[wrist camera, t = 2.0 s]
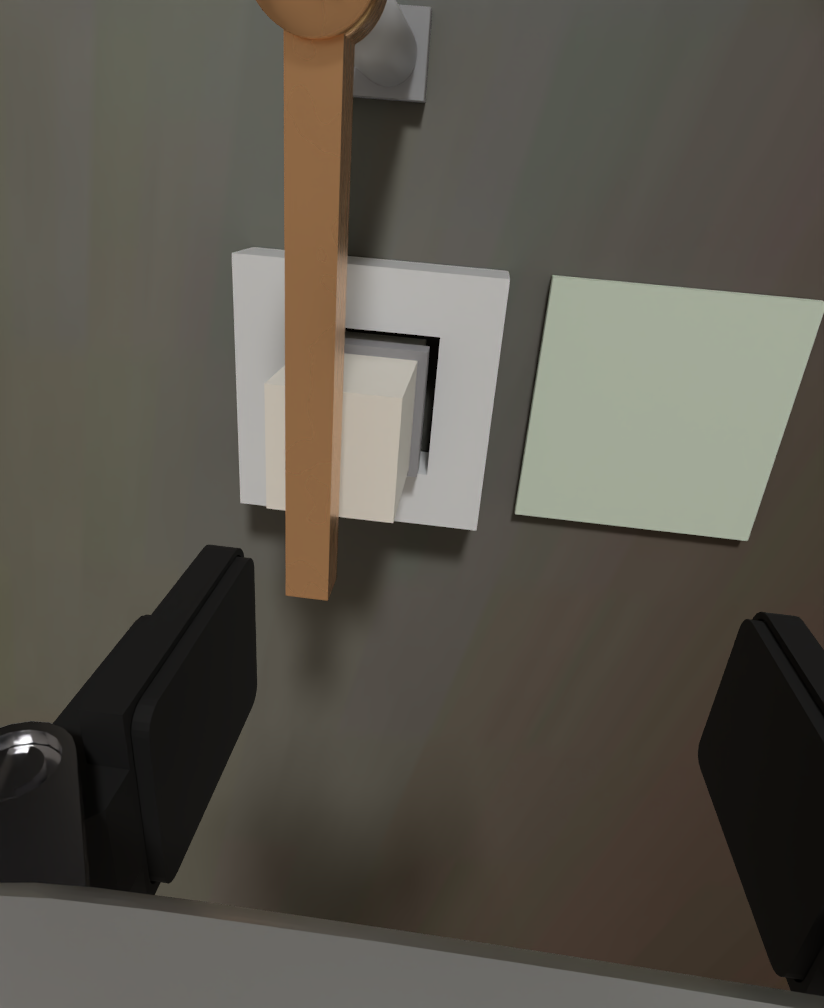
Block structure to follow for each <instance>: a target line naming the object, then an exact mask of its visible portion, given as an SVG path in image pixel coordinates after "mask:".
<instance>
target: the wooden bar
mask: <svg viewBox="0 0 824 1008" xmlns="http://www.w3.org/2000/svg"><path fill="white" fill-rule="evenodd" d="M256 1H257V3H258V4H259V6H260V7H261V8H262V10H263V11H264V12H265V13H266V14H267V16H268V17H269V18H270V19H272V20H273V21H274V22H275V23H276V24H277V25H279V26H280V27H281V28H283V29H284V236H285V515H286V596H294V597H302V598H310V599H318V600H326V601H328V599H329V596H330V594H331V591H332V589H333V586H334V583H335V581H336V578H337V550H338V521H339V491H340V462H341V433H342V404H343V375H344V346H345V317H346V288H347V259H348V230H349V201H350V172H351V143H352V114H353V85H354V56H355V44H357V43H358V42H360V41H361V40H363V39H364V38H365V37H366V36H367V35H368V34H369V33H370V32H371V31H372V30H373V28H374V27H375V26H376V24H377V23H378V21H379V19H380V17H381V15H382V13H383V11H384V8H385V5H386V2H387V0H256Z"/></svg>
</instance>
